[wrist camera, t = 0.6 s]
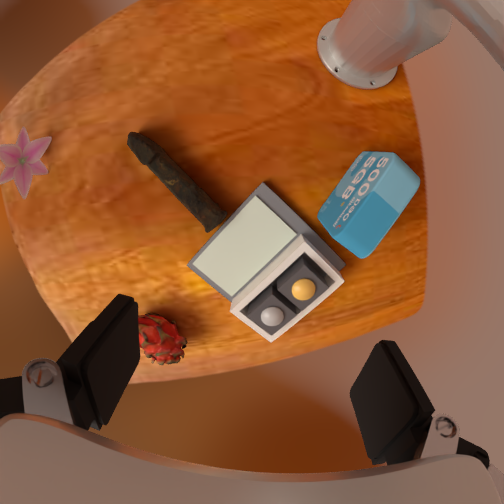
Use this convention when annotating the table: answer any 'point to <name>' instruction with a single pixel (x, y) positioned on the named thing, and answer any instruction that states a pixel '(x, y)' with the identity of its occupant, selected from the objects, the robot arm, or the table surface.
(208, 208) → the hand tool
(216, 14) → the table surface
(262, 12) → the table surface
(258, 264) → the board
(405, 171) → the data package
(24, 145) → the lily
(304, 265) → the tagged breaker
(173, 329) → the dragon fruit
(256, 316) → the grey square block
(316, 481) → the robot arm
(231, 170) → the table surface
